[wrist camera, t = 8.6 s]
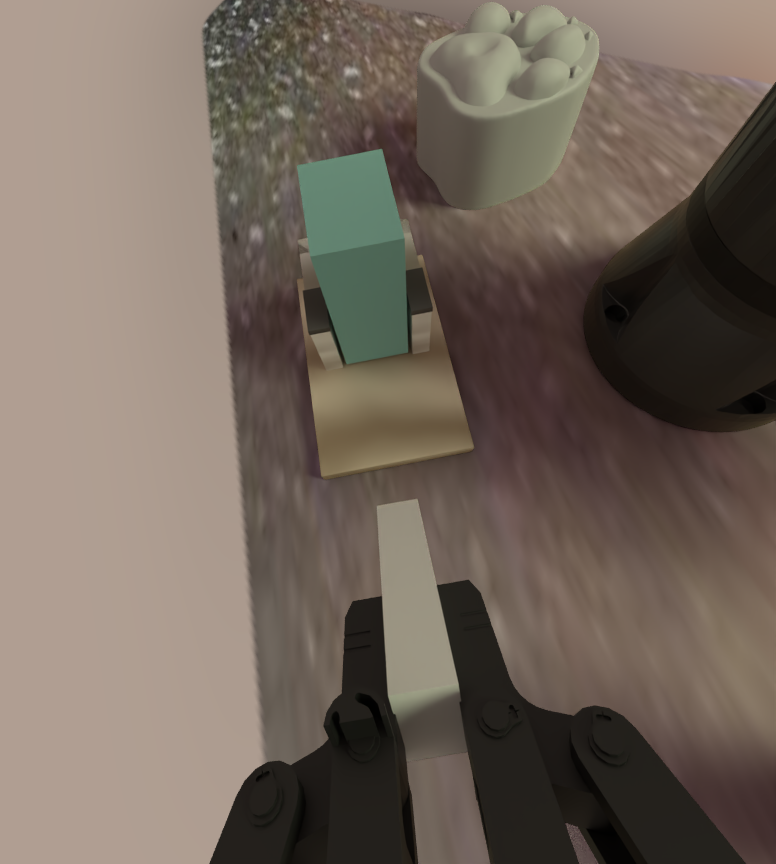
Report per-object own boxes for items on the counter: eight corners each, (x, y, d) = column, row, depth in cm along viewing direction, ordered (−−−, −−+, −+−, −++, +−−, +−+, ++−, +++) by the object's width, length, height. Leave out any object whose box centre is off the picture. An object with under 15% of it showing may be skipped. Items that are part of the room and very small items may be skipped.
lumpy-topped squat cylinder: (405, 147, 36) (401, 23, 28) (527, 97, 37) (558, -36, 29) (460, 222, 32) (475, 106, 24) (592, 165, 33) (649, 35, 25)
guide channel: (471, 451, 26) (487, 419, 20) (324, 479, 26) (300, 456, 20) (421, 264, 31) (423, 198, 26) (300, 287, 31) (275, 227, 26)
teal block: (408, 352, 27) (404, 238, 18) (346, 364, 27) (310, 256, 18) (392, 284, 29) (381, 148, 20) (335, 295, 29) (297, 165, 20)
